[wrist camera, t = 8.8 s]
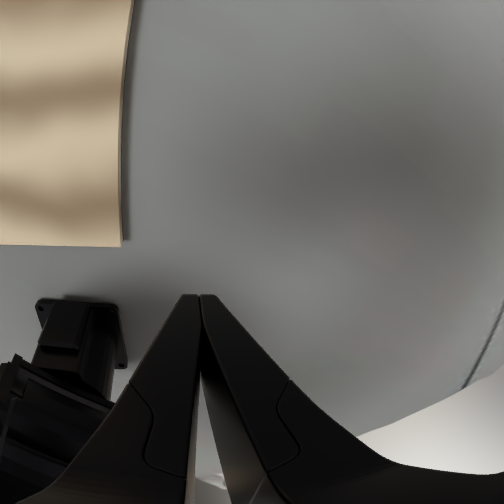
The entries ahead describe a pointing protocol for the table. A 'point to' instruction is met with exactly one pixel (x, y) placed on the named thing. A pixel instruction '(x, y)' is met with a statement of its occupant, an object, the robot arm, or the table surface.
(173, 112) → the table surface
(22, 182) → the wooden base board
